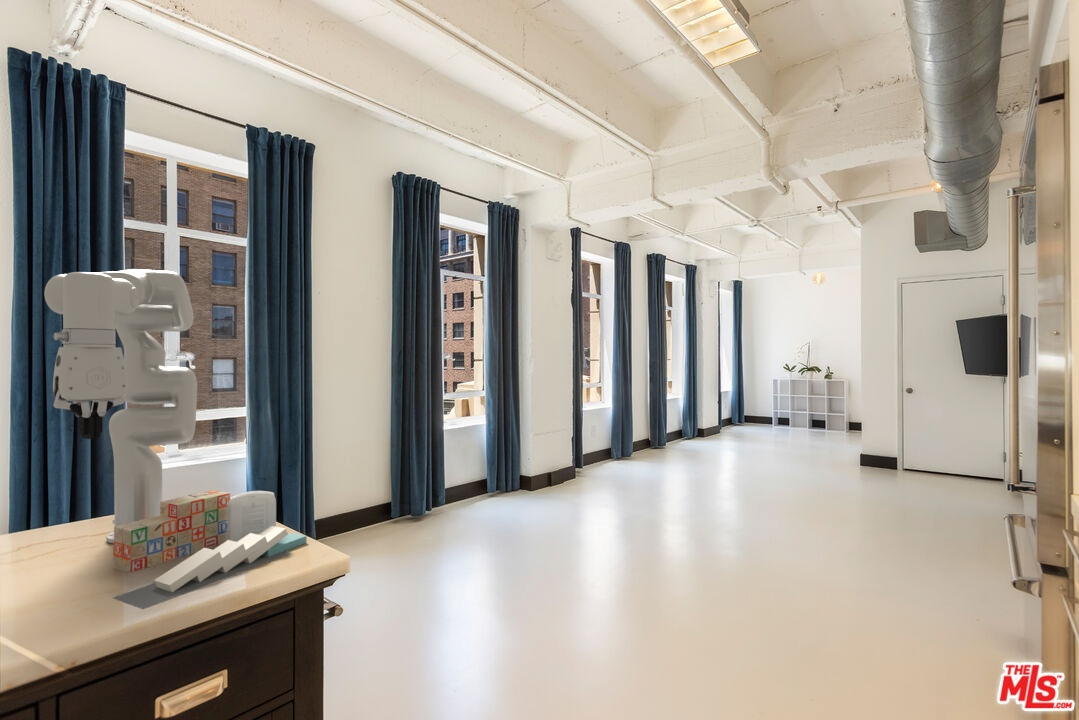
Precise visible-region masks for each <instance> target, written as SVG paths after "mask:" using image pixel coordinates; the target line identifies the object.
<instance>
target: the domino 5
mask: <svg viewBox="0 0 1079 720" xmlns="http://www.w3.org/2000/svg"><path fill="white" fill-rule="evenodd" d="M307 542H308V541H307V535H304V534H303V535H302V534H298V533H293V532H290V533H288V535H287V536H285V537H284V538H283V539H281V540H280V541H279V542H278V543H276V544H275V545H274V546H272V547H271V548H270V549H268V550H267V551H266V552H264V553H263V554H262V556H266V557H270V556H272V555H275V554H278V553H280V552H283V551H286V552H287V551H288V550H291V549H294V548H296V547H299V546H301V545H304V544H307Z"/></svg>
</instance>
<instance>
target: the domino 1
mask: <svg viewBox="0 0 1079 720" xmlns="http://www.w3.org/2000/svg"><path fill="white" fill-rule="evenodd" d="M220 559H222V556H221V554H220V551H216V550H214V549H211V548H203V549H201V550H200V551H196V552H194V553H193V554H192V555H191V556H189V557H188V558H186V559H184V560H183V561H181V562H180V563H178V564H177V565H175V566H174V567H172V568H171V569H169V570H166V572H165V573H163V574H162V575H159V577H157V578H155V579H153V580H154V583H155V584H156V586H157V587H158V588H161V589H164V590H167V591H170V592H174V591H175V590H177V589H178V588H180V587H181V586H183V585H184V584H185V583H187V582H188V581H190V580H191V579H193V578H194V577H196V576H197V575H199V574H200V573H201V572H203V571H204V570H206V569H207V568H209V567H210V566H212V565H213V564H215V563H216V562H217V561H219V560H220Z"/></svg>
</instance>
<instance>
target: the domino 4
mask: <svg viewBox="0 0 1079 720" xmlns="http://www.w3.org/2000/svg"><path fill="white" fill-rule="evenodd" d="M288 534H289V533H288V530H287V528H286V527H280V526H276V527H275V526H270V527H268V528H267V529H265V530H264V531H263V532H261V533H260V534H258V535H262V536H265V537H266V540H267V543H266V544H265V545H263V546H262V547H261V548H259V549H258V550H256V551H255V552H254V553H252V554H251V555H250V556H248V557H247V558H245V559H244V560H243V561H241V562H245V563H251V562H253V561H254V560H255V559H257V558H258V557H259V556H261V555H262V554H263V553H264V552H266V551H267V550H268V549H270V548H271V547H272V546H274V545H275V544H276V543H278V542H279V541H280V540H281V539H283V538H284V537H285V536H287V535H288Z"/></svg>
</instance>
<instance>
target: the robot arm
mask: <svg viewBox="0 0 1079 720" xmlns="http://www.w3.org/2000/svg"><path fill="white" fill-rule="evenodd" d="M43 292H44V295H43V296H44V300H45V302H46V304H47V306H48V307H49V309H50V310H51V311H53V312H54V313H56V314H59V315H62V318H63V319H62V320H63V321H62V323H63V325H62V326H63V329H61V331H60V332H54V333H53V339H54V341H60V342H61V344H63V346H59V347H58V350H57V354H56V358H55V364H54V367H53V368H54V370H53V380H52V395H53V398H54V402H53V405H52V406H53V407H54V408H55V409H61V410H69V411H70V412H72V413H73V414H75V417H77V418H78V433H79V435H80V436H81V438H82V439H83V440H84V439H85V440H86V439H87V440H92V439H93V440H94V439H100V438H101V434H102V432H103V417H105V416H106V414H107V412H108V411H109V410H110V409H112V407H116V406H117V407H118V406H119V405H122V404H124V403H125V402H126V403H128V404H133V405H169V404H171V405H173V406H143V407H141V406H140V407H127V408H123V409H119V410H118V411H116V412H114V413H113V414H112V415H111V416H110V419H109V421H108V431H109V437H110V441H111V447H112V452H113V453H112V454H113V470H114V471H113V477H114V478H113V483H114V484H113V488H114V493H113V494H114V497H113V498H114V499H113V500H114V501H113V502H114V506H113V507H114V510H113V511H114V519H113V520H112V524H114V527H115V526H119V525H123V524H127V523H131V522H135V521H139V520H143V519H148V518H152V517H156V516H160V502H162V501H163V462H162V460H161V458H160V456H159V455H158V454H157V453H156V452H155V451H154V450H153V449H152V448H151V447H154V446H167V445H169V446H170V445H181V444H186V443H189V442H190V441H192V440H193V437H194V435H195V432H196V424H197V423H196V421H197V401H198V400H197V399H198V381H197V376H196V374H195V372H194V370H192V369H191V368H189V367H187V366H186V367H184V366H166V365H165V364H166V350H165V348H164V347H163V346H162V344H161V343H160V342H159V341H158V340H157V339H156V338H154V337H153V336H152V335H150V333H148V332H175V333H176V332H185V331H188V330H189V329H190V328H191V327H193V323H194V310H193V306H192V302H191V298H190V295H189V290H188V287H187V284H186V282H185V281H184V279H183V277H182V275H180V274H179V273H177V272H175V271H170V270H155V269H153V270H152V269H139V268H138V269H137V268H130V269H123V270H118V271H100V272H89V271H88V272H87V271H73V272H68V273H64V274H63V273H62V274H56V275H54V276H52V277H51V278H50V279H49V280H48V281H47V283H46V285H45V287H44V291H43ZM116 332H117V335H118V337H119V339H120V341H121V344H122V347H123V350H124V352H123V350H122V347H116V344H117V342H116V338H117V337H116ZM123 353H124V354H123ZM90 402H91V409H90V404H89V403H90ZM106 542H107V543H109V544H113V545H114V530H112V532H110V533H108V534H107V535H106Z"/></svg>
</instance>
